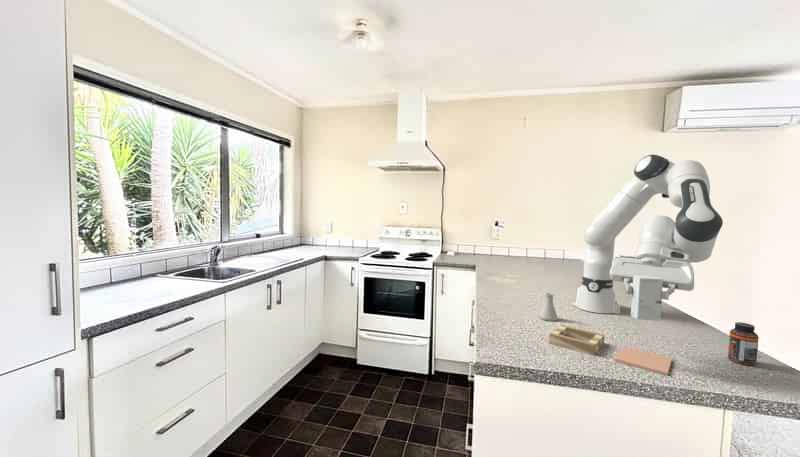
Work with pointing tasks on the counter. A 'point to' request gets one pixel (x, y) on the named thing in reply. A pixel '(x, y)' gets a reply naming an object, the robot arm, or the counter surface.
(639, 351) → the terracotta tile
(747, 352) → the supplement bottle
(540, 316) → the flask
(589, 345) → the light wooden square frame
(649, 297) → the skincare box
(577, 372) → the counter surface
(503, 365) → the counter surface
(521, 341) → the counter surface
